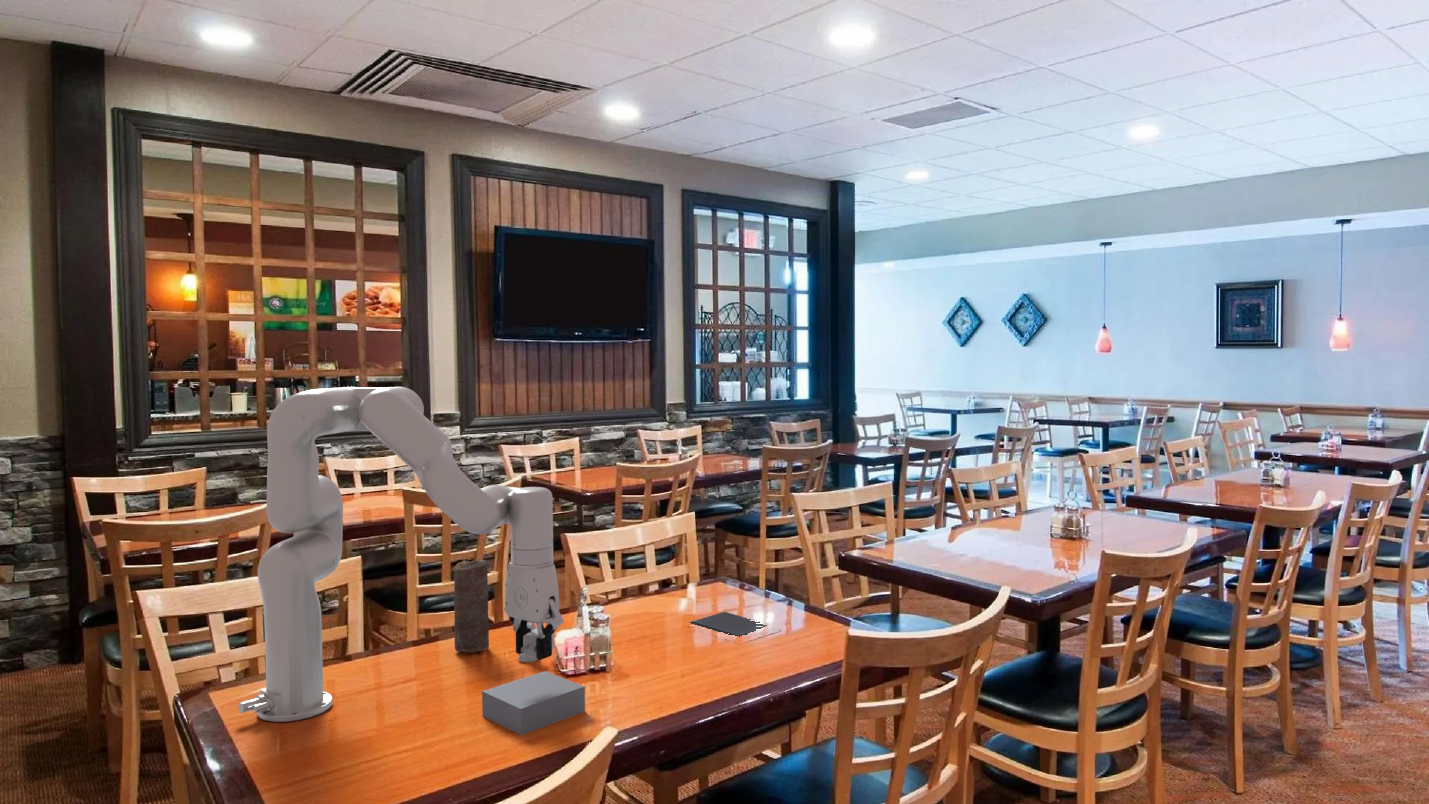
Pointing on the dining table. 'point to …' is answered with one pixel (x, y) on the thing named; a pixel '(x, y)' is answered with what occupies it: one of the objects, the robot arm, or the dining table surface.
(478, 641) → the dark brown rough pillar
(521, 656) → the rook chess piece
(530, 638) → the usb wall charger
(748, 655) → the dining table surface
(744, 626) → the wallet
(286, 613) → the robot arm
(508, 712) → the base block
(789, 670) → the dining table surface
